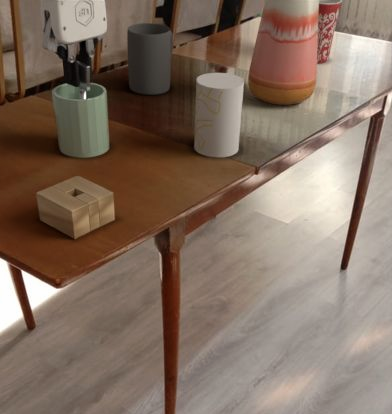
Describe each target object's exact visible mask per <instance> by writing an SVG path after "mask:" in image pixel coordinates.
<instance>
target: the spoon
mask: <svg viewBox="0 0 392 414" xmlns="http://www.w3.org/2000/svg"><path fill="white" fill-rule="evenodd" d="M77 62H78V67H79V79H80V86H79V99H87V97H86V91H90V66H88V65H85V64H83V63H81V62H79V61H77Z"/></svg>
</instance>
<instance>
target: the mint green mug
mask: <svg viewBox="0 0 392 414" xmlns="http://www.w3.org/2000/svg"><path fill="white" fill-rule="evenodd" d="M51 97H52V106H53V107H52V108H53V115H54V124H55V125H56V133H57V134H56V135H57V141H58V149H59V151H60V153H62V154H63V155H65V156H68V157H71V158H78V159H79V158H81V159H86V158H87V159H89V158H94V157H99V156H101V155H104V154H105V153H107V152H108V151H109V150H110V128H109V110H108V109H109V108H108V93H107V88H106V87H104V86H103V85H101V84H98V83H95V82H92V83H90V91H86V97H87V99H79V87H74V86H71V85H69V84H66V83H65V82H64V83H63V84H59V85H57V86H56V87H54V88H53V89H52V90H51Z"/></svg>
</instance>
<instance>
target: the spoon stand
mask: <svg viewBox="0 0 392 414" xmlns="http://www.w3.org/2000/svg"><path fill="white" fill-rule="evenodd" d="M35 194H36V201H37V208H38V215H39V220H40V221H41V222H42V223H44V224H47V225H49V227H52V228H54V229H56V230H57V231H59V232H61V233H63V234H65V235H66V236H68V237H70V238H72V239H73V240H77V239H78V238H81V237H83V236H85V235H86V234H89V233H90V232H93V231H94V230H97V229H99V228H101V227H103V226H105V225H108V224H109V223H111V222H114V221H115V220H116V214H115V197H114V192H113V191H111V190H109V189H107V188H105V187H103V186H101V185H99V184H96V183H94V182H93V181H90V180H89V179H86V178H84V177H82V176H80V175H75V176H73V177H70V178H68V179H65V180H63V181H61V182H58V183H56V184H54V185H51V186H49V187H46V188H44V189H41V190H39V191H37V192H35Z"/></svg>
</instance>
